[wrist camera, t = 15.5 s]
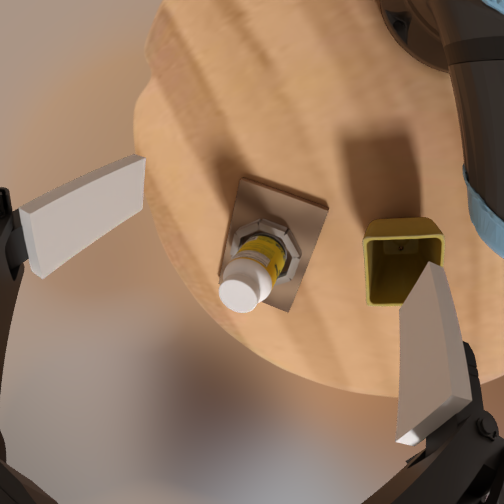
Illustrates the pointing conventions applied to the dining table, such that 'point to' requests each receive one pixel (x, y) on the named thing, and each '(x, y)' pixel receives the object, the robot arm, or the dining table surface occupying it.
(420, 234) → the flower pot
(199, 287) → the dining table surface
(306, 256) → the collar base
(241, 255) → the pill bottle
